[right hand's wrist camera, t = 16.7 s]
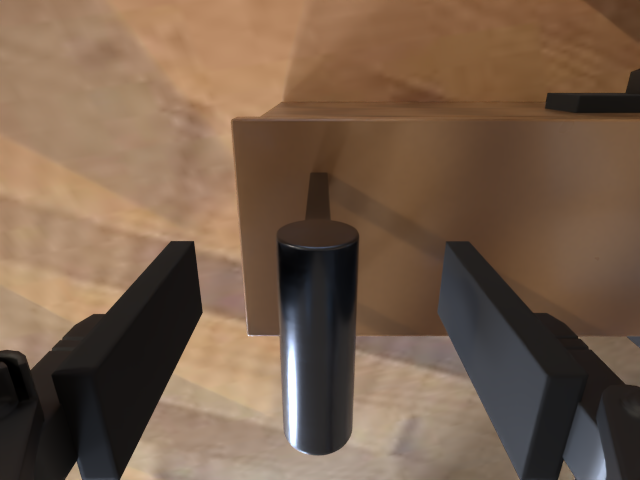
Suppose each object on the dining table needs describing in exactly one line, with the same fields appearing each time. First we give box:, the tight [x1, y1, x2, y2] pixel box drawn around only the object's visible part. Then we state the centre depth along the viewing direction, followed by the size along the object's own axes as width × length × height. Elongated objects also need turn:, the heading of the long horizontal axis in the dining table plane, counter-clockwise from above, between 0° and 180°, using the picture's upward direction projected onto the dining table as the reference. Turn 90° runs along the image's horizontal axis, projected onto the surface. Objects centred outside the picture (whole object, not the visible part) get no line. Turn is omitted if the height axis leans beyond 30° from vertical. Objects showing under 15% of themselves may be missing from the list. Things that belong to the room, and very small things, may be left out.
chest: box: [261, 102, 640, 117], centre depth 23 cm, size 18×10×10 cm, turn 90°
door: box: [231, 117, 640, 455], centre depth 14 cm, size 18×10×9 cm, turn 90°
